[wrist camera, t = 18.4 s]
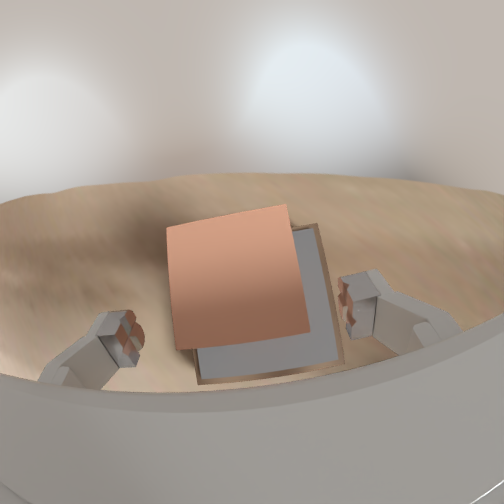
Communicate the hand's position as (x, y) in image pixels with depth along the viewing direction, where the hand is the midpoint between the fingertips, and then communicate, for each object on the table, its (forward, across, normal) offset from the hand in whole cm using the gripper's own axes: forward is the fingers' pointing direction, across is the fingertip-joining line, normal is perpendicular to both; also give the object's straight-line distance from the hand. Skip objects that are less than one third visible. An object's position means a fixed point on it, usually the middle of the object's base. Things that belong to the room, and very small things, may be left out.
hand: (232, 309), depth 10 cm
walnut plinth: (+11, 0, +9) cm, 14 cm away
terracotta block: (+8, 0, +6) cm, 10 cm away
